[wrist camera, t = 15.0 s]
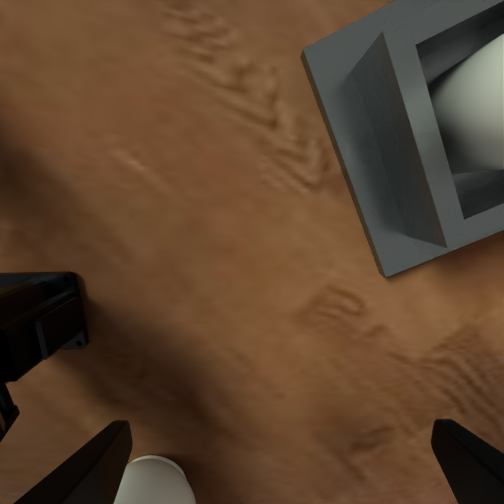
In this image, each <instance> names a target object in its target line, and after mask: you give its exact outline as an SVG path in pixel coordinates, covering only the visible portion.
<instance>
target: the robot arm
mask: <svg viewBox="0 0 504 504" xmlns="http://www.w3.org/2000/svg"><path fill="white" fill-rule="evenodd" d="M67 276H68V277H69V279H70V281H69V280H68V279H67ZM80 341H81V342H82V343H81V342H80ZM87 344H88V336H87V331H86V324H85V319H84V313H83V308H82V303H81V299H80V294H79V289H78V284H77V278H76V275H75V274H74V273H72V272H23V273H0V442H1V441H2V439H3V438H4V436H5V435H6V433H7V432H8V430H9V429H10V427H11V426H12V424H13V423H14V421H15V420H16V418H17V417H18V415H19V414H20V412H19V409H18V407H17V405H14V403H13V401H12V398H11V396H10V393H9V391H8V388H7V386H6V384H7V383H8V382H14V381H17V380H19V379H20V378H21V377H22V376H24V375H25V374H26V373H27V372H29V371H30V370H31V369H32V368H34V367H35V366H36V365H38V364H39V363H40V362H41V361H43V360H46V359H48V358H49V357H50V356H52V355H53V354H54V353H55V352H57V351H58V350H59V349H82V348H84V347H85V346H86V345H87ZM431 445H432V449H433V452H434V454H435V456H436V458H437V460H438V462H439V464H440V466H441V468H442V470H443V473H444V475H445V477H446V479H447V481H448V483H449V485H450V487H451V489H452V491H453V493H454V495H455V497H456V500H457V502H458V504H504V454H503V453H502V452H500V451H499V450H497V449H496V448H494V447H493V446H491V445H490V444H488V443H487V442H485V441H484V440H482V439H481V438H479V437H478V436H476V435H475V434H473V433H472V432H470V431H469V430H467V429H466V428H464V427H463V426H461V425H460V424H458V423H457V422H455V421H453V420H451V419H436V420H435V421H434V425H433V431H432V438H431ZM131 450H132V436H131V430H130V424H129V422H128V421H126V420H116V421H113V422H112V423H110V424H109V425H108V426H107V427H106V428H104V429H103V430H102V431H101V432H99V433H98V434H97V435H96V436H95V437H93V438H92V439H91V440H90V441H89V442H87V443H86V444H85V445H84V446H83V447H81V448H80V449H79V450H78V451H76V452H75V453H74V454H73V455H72V456H70V457H69V458H68V459H67V460H66V461H64V462H63V463H62V464H61V465H60V466H58V467H57V468H56V469H55V470H53V471H52V472H51V473H50V474H49V475H47V476H46V477H45V478H44V479H43V480H41V481H40V482H39V483H38V484H37V485H35V486H34V487H33V488H32V489H30V490H29V491H28V492H27V493H26V494H24V495H23V496H22V497H21V498H20V499H18V500H17V501H16V502H15V503H14V504H114V501H115V498H116V496H117V493H118V490H119V487H120V484H121V481H122V478H123V475H124V472H125V469H126V466H127V463H128V460H129V457H130V454H131Z"/></svg>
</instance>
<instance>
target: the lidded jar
mask: <svg viewBox="0 0 504 504" xmlns="http://www.w3.org/2000/svg"><path fill="white" fill-rule="evenodd" d="M114 504H196V500H195V497H194V494H193V491H192V489H191V487H190V485H189V483H188V481H187V480H186V476H185V474H184V472H183V470H182V469H181V467H180V466H179V465H178V464H176V463H175V462H174V461H172V460H170V459H168V458H165V457H162V456H157V455H146V456H141V457H138V458H136V459H134V460H133V461H131V462H130V463H128V464H127V466H126V469H125V472H124V475H123V478H122V481H121V484H120V487H119V490H118V493H117V496H116V498H115V501H114Z"/></svg>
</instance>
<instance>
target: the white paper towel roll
mask: <svg viewBox="0 0 504 504" xmlns="http://www.w3.org/2000/svg"><path fill="white" fill-rule="evenodd" d="M428 92H429V96H430V99H431V103H432V106H433V110H434V114H435V117H436V121H437V124H438V128H439V132H440V135H441V139H442V142H443V146H444V149H445V153H446V157H447V160H448V164H449V167H450V171H451V173H469V172H481V171H492V170H504V34H502V35H501V36H499V37H498V38H496V39H494V40H493V41H491V42H490V43H488V44H487V45H485V46H483V47H482V48H480V49H479V50H477V51H476V52H474V53H472V54H471V55H469V56H468V57H466V58H465V59H463V60H461V61H460V62H458V63H457V64H455V65H454V66H452V67H451V68H449V69H447V70H446V71H445V72H443V73H442V74H441V75H440V76H439V77H437V78H436V79H435V80H434V82H433V83H432V84H431V85H430V86H429V88H428Z"/></svg>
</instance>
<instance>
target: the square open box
mask: <svg viewBox="0 0 504 504" xmlns="http://www.w3.org/2000/svg"><path fill="white" fill-rule="evenodd" d="M502 34H504V0H395V1H393V2H391V3H389V4H387V5H386V6H384V7H382V8H380V9H378V10H376V11H374V12H372V13H370V14H368V15H367V16H365V17H363V18H361V19H359V20H357V21H355V22H353V23H351V24H349V25H348V26H346V27H344V28H342V29H340V30H338V31H336V32H334V33H332V34H330V35H329V36H327V37H325V38H323V39H321V40H319V41H317V42H315V43H313V44H311V45H310V46H308V47H306V48H304V49H303V51H302V54H301V60H302V63H303V65H304V68H305V71H306V73H307V76H308V79H309V82H310V84H311V87H312V90H313V93H314V95H315V98H316V101H317V103H318V106H319V109H320V112H321V114H322V117H323V120H324V123H325V125H326V128H327V131H328V133H329V136H330V139H331V142H332V144H333V147H334V150H335V153H336V155H337V158H338V161H339V164H340V166H341V169H342V172H343V174H344V177H345V180H346V183H347V185H348V188H349V191H350V194H351V196H352V199H353V202H354V204H355V207H356V210H357V213H358V215H359V218H360V221H361V224H362V226H363V229H364V232H365V234H366V237H367V240H368V243H369V245H370V248H371V251H372V254H373V256H374V259H375V262H376V264H377V267H378V270H379V273H380V274H382V275H383V276H385V277H388V276H391V275H393V274H396V273H398V272H401V271H403V270H406V269H408V268H411V267H413V266H416V265H418V264H421V263H423V262H426V261H428V260H431V259H433V258H435V257H438V256H440V255H443V254H445V253H448V252H450V251H453V250H455V249H458V248H460V247H463V246H465V245H468V244H470V243H473V242H475V241H478V240H480V239H483V238H485V237H487V236H490V235H492V234H495V233H497V232H500V231H502V230H504V170H492V171H481V172H469V173H451V171H450V167H449V164H448V160H447V157H446V153H445V149H444V146H443V142H442V139H441V135H440V132H439V128H438V124H437V121H436V117H435V114H434V110H433V106H432V103H431V99H430V96H429V92H428V88H429V86H430V85H431V84H432V83H433V82H434V80H435V79H436V78H437V77H439V76H440V75H441V74H442V73H443V72H445V71H446V70H447V69H449V68H451V67H452V66H454V65H455V64H457V63H458V62H460V61H461V60H463V59H465V58H466V57H468V56H469V55H471V54H472V53H474V52H476V51H477V50H479V49H480V48H482V47H483V46H485V45H487V44H488V43H490V42H491V41H493V40H494V39H496V38H498V37H499V36H501V35H502Z"/></svg>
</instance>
